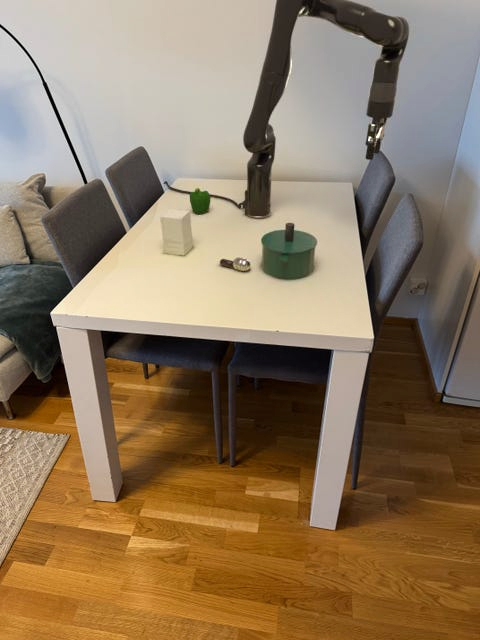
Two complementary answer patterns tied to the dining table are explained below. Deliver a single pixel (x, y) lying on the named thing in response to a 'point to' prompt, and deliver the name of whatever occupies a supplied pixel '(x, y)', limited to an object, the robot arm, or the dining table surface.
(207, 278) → the dining table surface
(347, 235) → the dining table surface
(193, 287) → the dining table surface
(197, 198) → the bell pepper
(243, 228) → the dining table surface
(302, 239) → the lid
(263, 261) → the pot
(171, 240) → the white packaging box
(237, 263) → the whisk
